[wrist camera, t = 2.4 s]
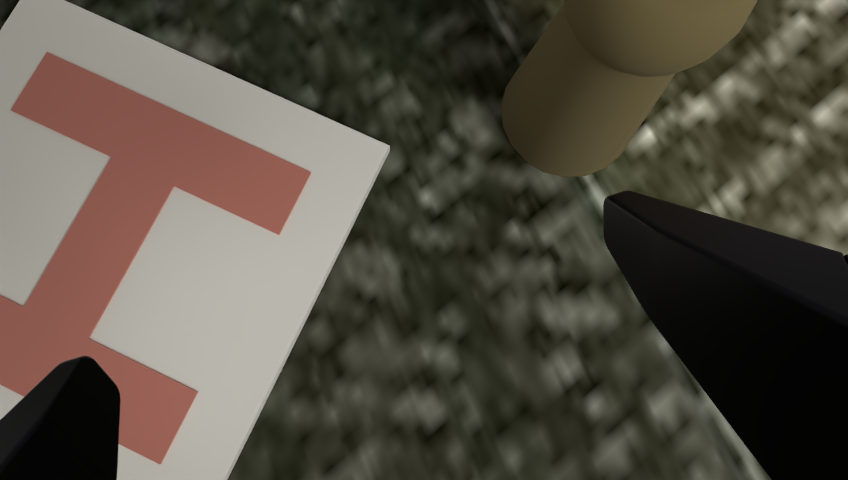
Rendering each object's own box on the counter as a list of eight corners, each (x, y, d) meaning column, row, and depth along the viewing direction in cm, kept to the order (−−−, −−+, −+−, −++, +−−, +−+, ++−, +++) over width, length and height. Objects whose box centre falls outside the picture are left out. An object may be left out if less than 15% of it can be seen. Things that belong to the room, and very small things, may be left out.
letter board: (192, 549, 21) (185, 556, 20) (-194, 352, 22) (-213, 353, 21) (389, 150, 24) (389, 145, 23) (39, -7, 25) (28, -17, 24)
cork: (475, 90, 24) (522, -103, 13) (586, 28, 25) (716, -205, 14) (548, 202, 23) (659, 92, 13) (660, 134, 24) (860, -26, 13)
